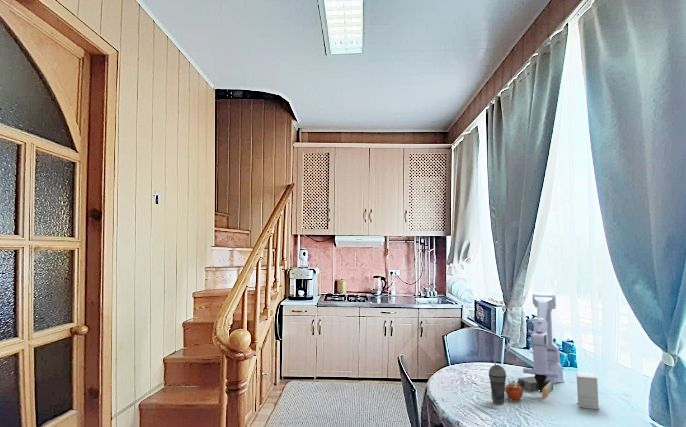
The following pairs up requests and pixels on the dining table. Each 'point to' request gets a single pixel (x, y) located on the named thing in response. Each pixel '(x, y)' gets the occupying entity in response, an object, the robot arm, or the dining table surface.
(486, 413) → the dining table surface
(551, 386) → the side door
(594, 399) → the supplement box
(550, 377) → the robot arm
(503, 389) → the beverage cup
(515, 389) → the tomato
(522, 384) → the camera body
